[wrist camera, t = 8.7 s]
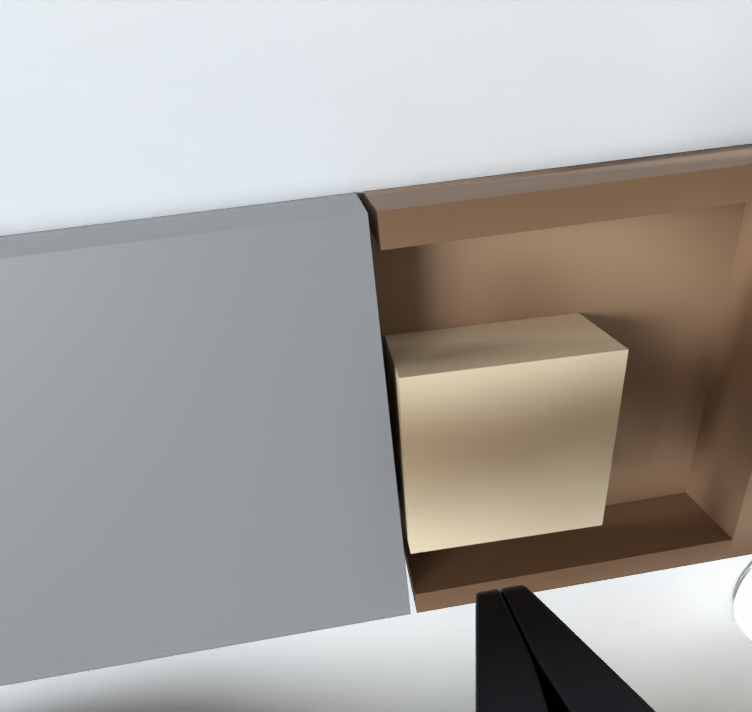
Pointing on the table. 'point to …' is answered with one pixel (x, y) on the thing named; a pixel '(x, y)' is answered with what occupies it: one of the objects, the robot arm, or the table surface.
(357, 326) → the plate
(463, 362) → the tile
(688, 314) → the box
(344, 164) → the table surface
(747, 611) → the can
